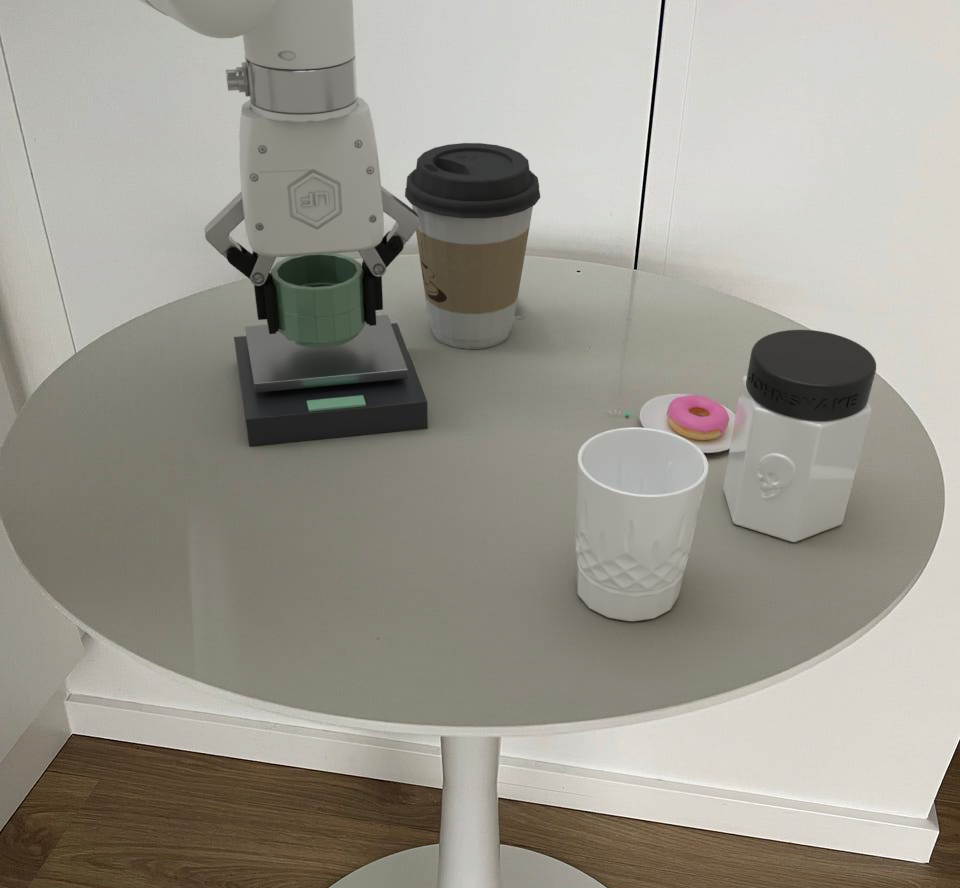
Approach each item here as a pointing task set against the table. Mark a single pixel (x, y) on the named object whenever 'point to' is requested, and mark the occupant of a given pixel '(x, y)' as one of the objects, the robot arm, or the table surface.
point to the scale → (331, 406)
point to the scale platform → (324, 359)
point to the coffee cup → (472, 238)
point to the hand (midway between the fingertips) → (321, 320)
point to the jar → (798, 433)
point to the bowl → (319, 299)
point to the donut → (690, 420)
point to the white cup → (636, 519)
